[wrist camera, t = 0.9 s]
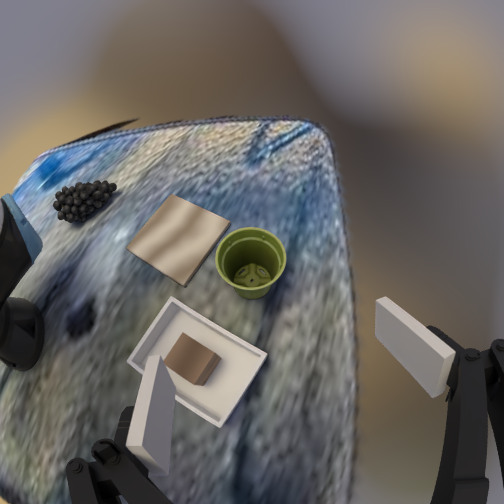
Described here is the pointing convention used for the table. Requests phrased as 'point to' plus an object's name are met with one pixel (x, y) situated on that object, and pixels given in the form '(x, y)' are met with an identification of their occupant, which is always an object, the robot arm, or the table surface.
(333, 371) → the table surface
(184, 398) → the grey tray
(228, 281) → the plant pot
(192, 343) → the walnut block
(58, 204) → the fruit
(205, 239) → the ash board
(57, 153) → the table surface
